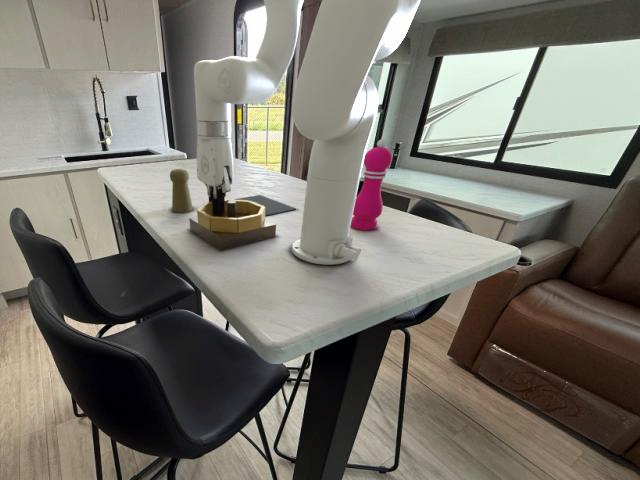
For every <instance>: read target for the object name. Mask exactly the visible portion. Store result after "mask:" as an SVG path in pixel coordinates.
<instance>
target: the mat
mask: <svg viewBox="0 0 640 480" xmlns="http://www.w3.org/2000/svg"><path fill="white" fill-rule="evenodd" d="M234 200H247V201H252V202H255V203H257V204H260V205H262V206H265V217H269V216H273V215H278V214H283V213H287V212H292V211H296V210H297V208H295V207H294V206H293V207H292V206H290V205H287V204H284V203H283V202H279V201H276V200H274V199H271V198H269V197H266V196H264V195H261V194H259V195H253V196H247V197H241V198H235V199H234Z"/></svg>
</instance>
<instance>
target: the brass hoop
mask: <svg viewBox="0 0 640 480" xmlns="http://www.w3.org/2000/svg"><path fill="white" fill-rule="evenodd" d="M228 201H235V202H236V213H248V214H250V216H245V217H241V218H227V217H213V216H211V215H214V214H213V207H212V202H209V201H207V202H204V203H203V204H202V205H200V207H198V208H197V209H196V215H197V216H196V217H197V218H198V223H199V224H200V225H202V226H203V227H205V228H207V229H208V230H210V231H218V232H230V233H241V232H245V231H249V230H254V229H258V228H260V227H262V224H263V222H264V220H266V216H265V206H262V205H260V204H257V203H255V202H252V201H247V200H235V199H230V198H227V199H225V212H227V202H228ZM225 212H224V213H225Z"/></svg>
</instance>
